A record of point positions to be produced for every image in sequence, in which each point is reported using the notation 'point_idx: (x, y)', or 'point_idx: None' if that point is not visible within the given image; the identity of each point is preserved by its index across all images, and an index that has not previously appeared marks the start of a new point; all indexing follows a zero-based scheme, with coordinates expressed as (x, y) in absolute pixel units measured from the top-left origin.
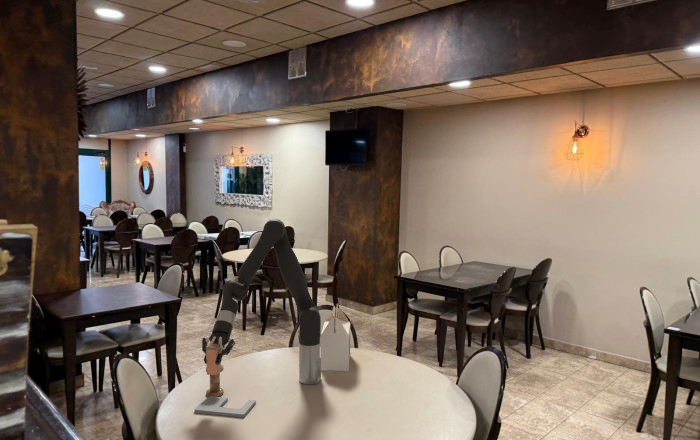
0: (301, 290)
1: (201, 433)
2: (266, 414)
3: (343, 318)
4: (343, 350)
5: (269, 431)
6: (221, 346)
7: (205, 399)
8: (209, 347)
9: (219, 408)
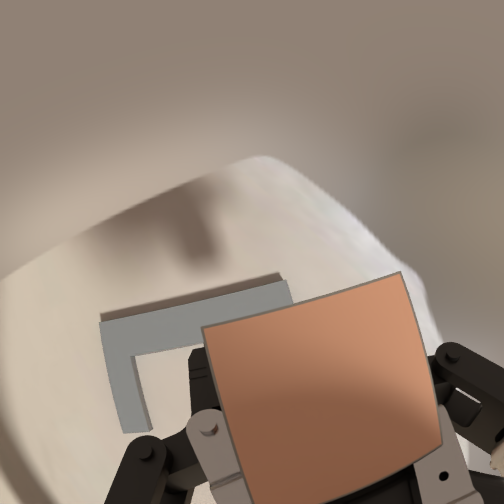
0: None
1: (169, 194)
2: (59, 367)
3: None
4: None
5: (22, 280)
6: (216, 491)
7: None
8: (334, 293)
9: None
